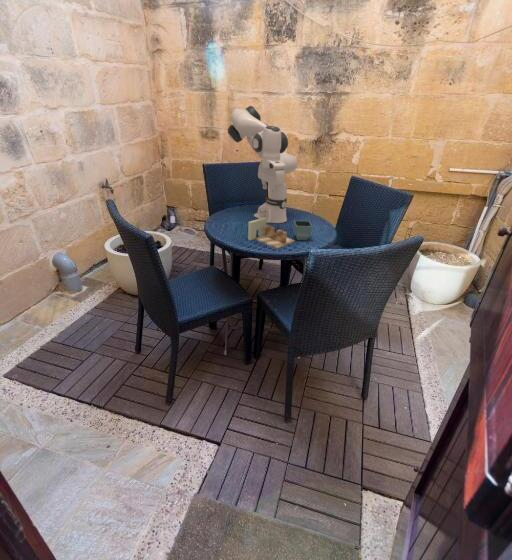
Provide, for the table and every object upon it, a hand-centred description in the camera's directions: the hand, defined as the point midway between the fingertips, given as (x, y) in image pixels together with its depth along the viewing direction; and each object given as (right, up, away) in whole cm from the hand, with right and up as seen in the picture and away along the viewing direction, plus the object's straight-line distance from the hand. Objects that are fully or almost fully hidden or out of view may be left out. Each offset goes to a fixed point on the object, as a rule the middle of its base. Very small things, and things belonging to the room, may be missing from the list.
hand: (269, 190), depth 164 cm
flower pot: (+18, -23, +14) cm, 32 cm away
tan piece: (+3, -25, +9) cm, 27 cm away
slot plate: (-6, -22, +13) cm, 26 cm away
